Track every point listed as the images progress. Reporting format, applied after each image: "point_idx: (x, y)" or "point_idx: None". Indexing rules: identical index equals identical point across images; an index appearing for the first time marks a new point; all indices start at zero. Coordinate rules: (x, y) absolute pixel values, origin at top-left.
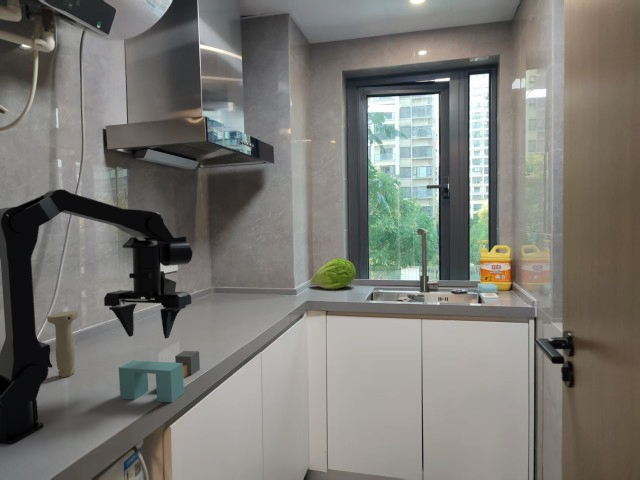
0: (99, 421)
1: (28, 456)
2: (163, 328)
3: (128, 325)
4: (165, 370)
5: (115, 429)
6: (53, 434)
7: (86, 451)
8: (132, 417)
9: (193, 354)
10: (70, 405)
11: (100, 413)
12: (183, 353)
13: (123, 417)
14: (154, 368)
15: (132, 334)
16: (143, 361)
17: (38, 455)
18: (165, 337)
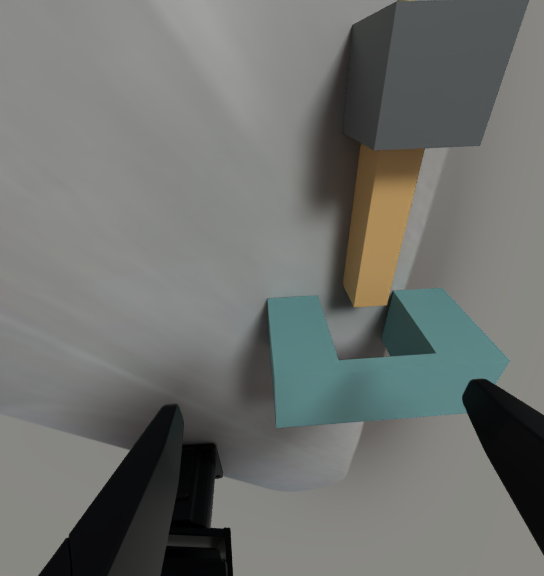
0: None
1: (277, 477)
2: (516, 495)
3: (162, 529)
4: (459, 413)
5: (355, 423)
6: (258, 449)
7: (350, 459)
8: None
9: (493, 93)
10: (172, 390)
11: None
12: (413, 83)
13: None
14: (412, 410)
15: (176, 415)
16: (330, 376)
17: (289, 474)
18: (471, 406)
